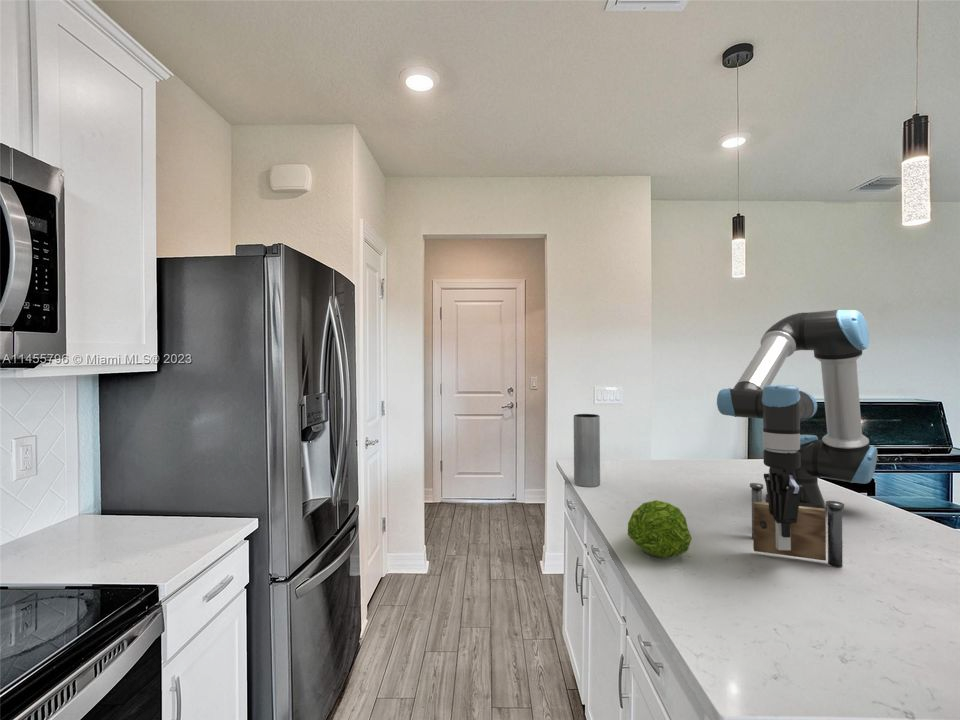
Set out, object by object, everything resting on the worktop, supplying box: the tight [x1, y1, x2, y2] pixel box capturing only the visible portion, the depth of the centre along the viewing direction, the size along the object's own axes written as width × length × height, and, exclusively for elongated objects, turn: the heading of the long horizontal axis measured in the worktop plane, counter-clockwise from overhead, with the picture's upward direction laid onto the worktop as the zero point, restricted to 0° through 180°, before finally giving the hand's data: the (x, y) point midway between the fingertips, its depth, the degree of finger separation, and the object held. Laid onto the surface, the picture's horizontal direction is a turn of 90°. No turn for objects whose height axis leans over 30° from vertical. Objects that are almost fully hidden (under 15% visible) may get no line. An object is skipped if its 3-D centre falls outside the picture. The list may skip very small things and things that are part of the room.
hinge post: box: [825, 500, 845, 568], centre depth 115 cm, size 4×4×15 cm
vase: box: [573, 413, 601, 488], centre depth 190 cm, size 10×10×27 cm
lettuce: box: [627, 499, 692, 559], centre depth 127 cm, size 15×24×14 cm, turn 156°
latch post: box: [749, 482, 764, 539], centre depth 132 cm, size 3×3×15 cm
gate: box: [752, 501, 827, 562], centre depth 118 cm, size 15×3×12 cm, turn 66°
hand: (783, 549), depth 115 cm, fingers closed
